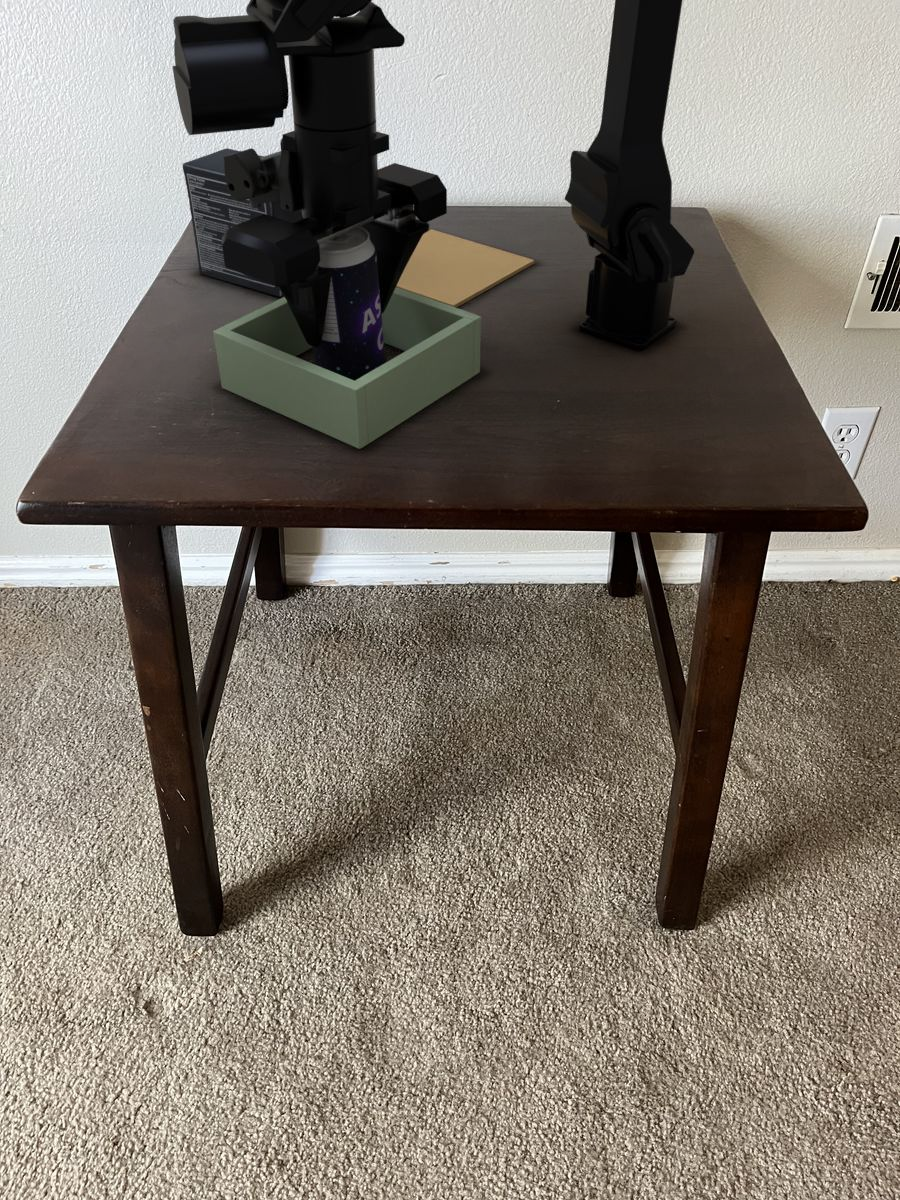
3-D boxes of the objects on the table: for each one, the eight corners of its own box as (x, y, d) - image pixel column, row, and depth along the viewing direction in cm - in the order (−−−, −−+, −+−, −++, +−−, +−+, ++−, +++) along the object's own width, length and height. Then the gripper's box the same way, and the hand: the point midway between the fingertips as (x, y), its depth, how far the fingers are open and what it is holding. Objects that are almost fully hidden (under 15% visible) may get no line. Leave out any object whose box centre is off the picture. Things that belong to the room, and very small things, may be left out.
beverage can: (377, 400, 83) (363, 255, 74) (309, 394, 84) (288, 251, 75) (394, 364, 87) (382, 223, 79) (328, 359, 88) (311, 219, 80)
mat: (534, 263, 103) (534, 259, 103) (453, 309, 95) (453, 305, 95) (431, 232, 109) (431, 229, 109) (348, 273, 101) (348, 269, 101)
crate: (480, 372, 86) (481, 315, 83) (359, 449, 77) (355, 389, 74) (346, 322, 93) (342, 268, 90) (221, 388, 84) (212, 331, 81)
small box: (324, 275, 101) (315, 163, 94) (281, 299, 97) (268, 185, 90) (241, 251, 105) (226, 143, 98) (196, 274, 101) (178, 163, 94)
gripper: (340, 72, 81) (350, 265, 92) (152, 127, 70) (187, 340, 80) (452, 98, 76) (449, 300, 86) (269, 163, 65) (291, 385, 75)
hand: (346, 328), depth 82 cm, fingers closed on beverage can, 7 cm apart
